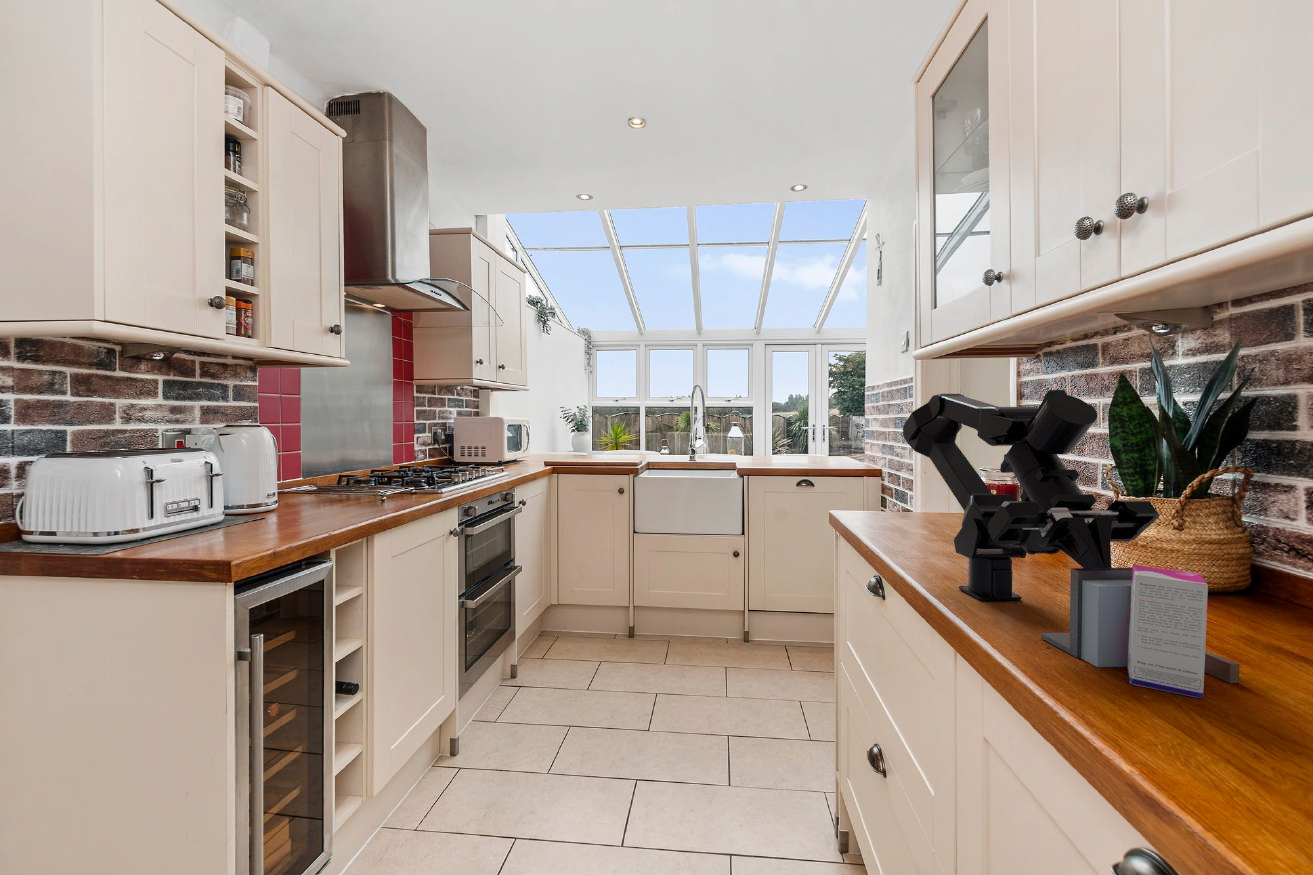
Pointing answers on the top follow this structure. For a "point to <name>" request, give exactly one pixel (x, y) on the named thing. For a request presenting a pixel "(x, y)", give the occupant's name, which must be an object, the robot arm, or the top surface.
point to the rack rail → (1221, 667)
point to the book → (1105, 622)
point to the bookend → (1074, 638)
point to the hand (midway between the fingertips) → (1106, 580)
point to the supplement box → (1167, 630)
